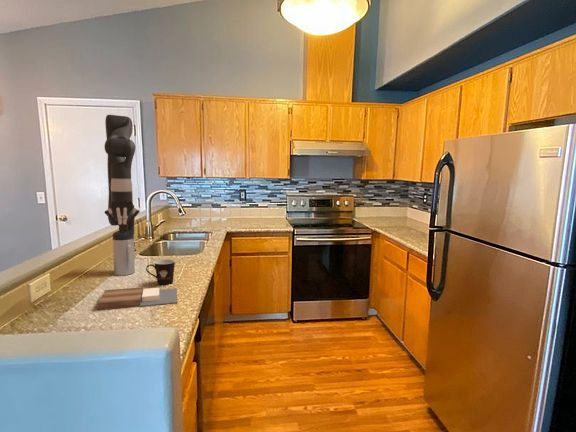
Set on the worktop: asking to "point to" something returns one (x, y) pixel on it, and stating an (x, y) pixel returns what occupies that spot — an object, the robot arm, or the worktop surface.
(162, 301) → the mat
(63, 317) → the worktop surface
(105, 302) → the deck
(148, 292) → the cream rectangular block
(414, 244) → the worktop surface
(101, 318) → the worktop surface
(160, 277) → the coffee mug
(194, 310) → the worktop surface
